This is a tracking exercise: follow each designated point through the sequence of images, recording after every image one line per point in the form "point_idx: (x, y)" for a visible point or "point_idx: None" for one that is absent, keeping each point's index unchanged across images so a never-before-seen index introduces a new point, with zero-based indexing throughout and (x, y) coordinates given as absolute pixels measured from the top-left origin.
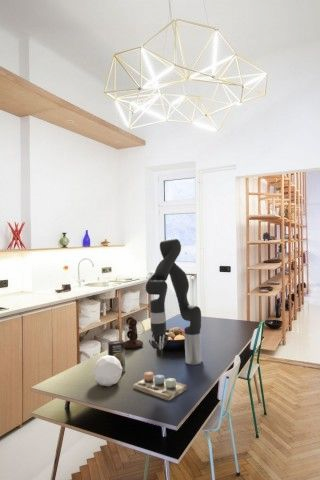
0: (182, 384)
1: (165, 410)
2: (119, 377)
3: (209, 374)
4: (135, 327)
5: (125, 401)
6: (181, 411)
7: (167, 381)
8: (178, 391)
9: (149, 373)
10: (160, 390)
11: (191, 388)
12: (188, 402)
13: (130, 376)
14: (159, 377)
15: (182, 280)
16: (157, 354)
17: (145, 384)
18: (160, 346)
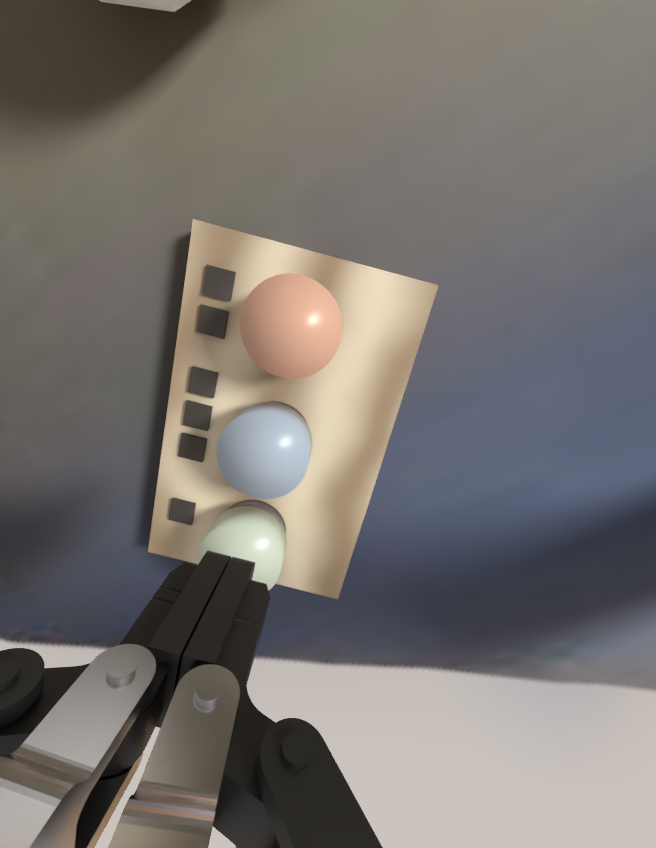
0: (339, 574)
1: (61, 559)
2: (153, 7)
3: (612, 640)
4: None
5: (11, 289)
6: (96, 627)
7: (206, 550)
8: None
9: (297, 334)
10: (193, 478)
11: (362, 599)
12: None
13: (425, 29)
14: (249, 464)
15: None
16: (164, 590)
17: (222, 333)
18: (98, 810)
